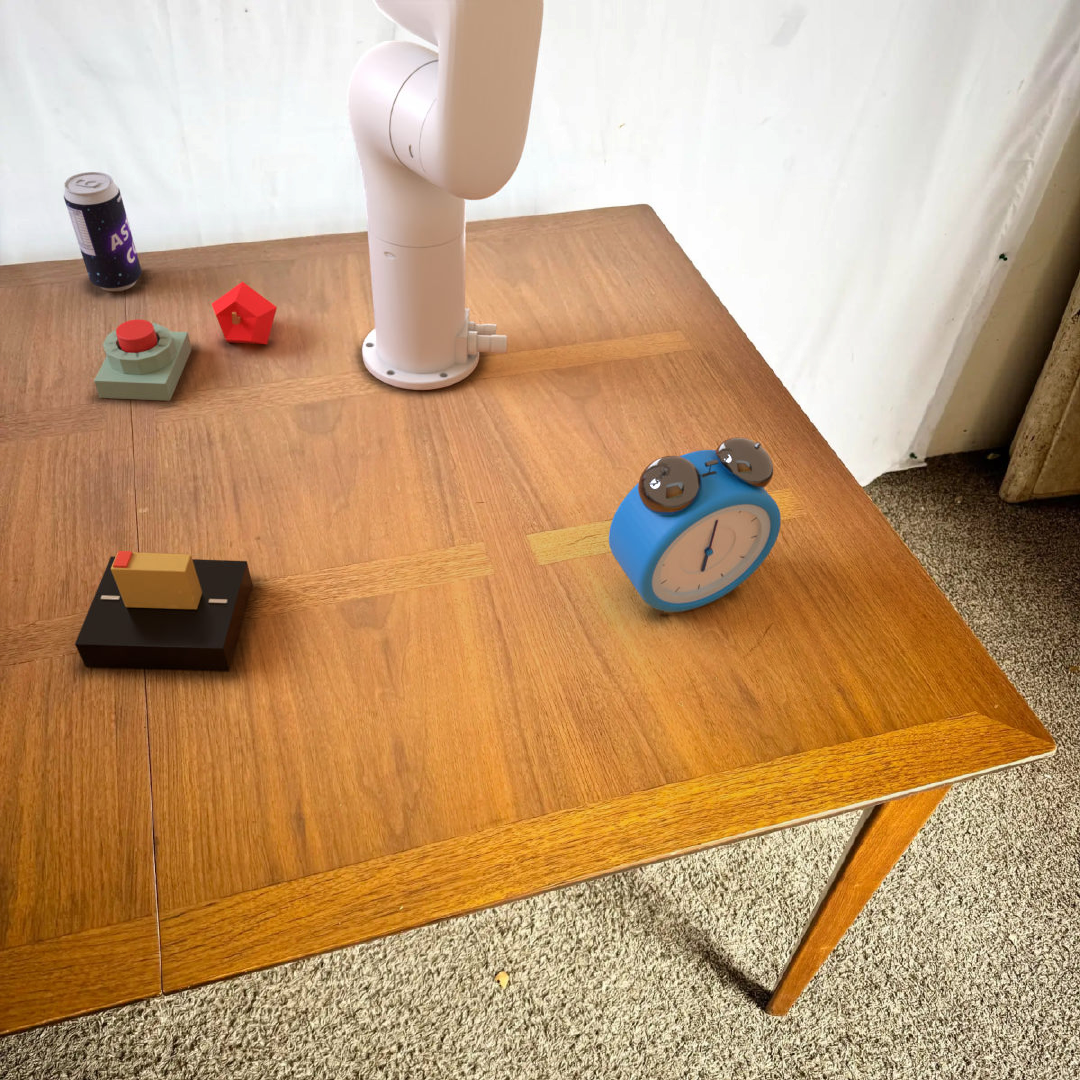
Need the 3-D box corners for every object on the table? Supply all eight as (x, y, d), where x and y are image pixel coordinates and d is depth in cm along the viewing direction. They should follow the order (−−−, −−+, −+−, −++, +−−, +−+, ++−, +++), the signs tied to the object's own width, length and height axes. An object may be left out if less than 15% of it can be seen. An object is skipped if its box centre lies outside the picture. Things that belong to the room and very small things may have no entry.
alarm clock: (631, 633, 80) (657, 504, 69) (597, 581, 83) (617, 450, 73) (762, 589, 84) (807, 460, 73) (725, 541, 88) (761, 412, 77)
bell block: (125, 346, 103) (116, 314, 100) (192, 349, 103) (184, 317, 100) (99, 398, 97) (88, 365, 94) (170, 401, 97) (161, 368, 94)
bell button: (126, 332, 98) (121, 318, 97) (161, 334, 99) (157, 319, 97) (115, 353, 96) (110, 338, 95) (152, 355, 96) (148, 340, 95)
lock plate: (253, 584, 81) (246, 559, 79) (229, 671, 75) (222, 647, 72) (120, 580, 80) (110, 554, 78) (85, 667, 74) (73, 642, 72)
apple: (225, 268, 105) (202, 281, 97) (287, 284, 106) (269, 299, 98) (217, 329, 108) (195, 346, 100) (278, 344, 108) (260, 363, 101)
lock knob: (202, 592, 76) (190, 551, 73) (197, 610, 75) (184, 569, 71) (132, 590, 76) (116, 549, 72) (125, 607, 75) (109, 566, 71)
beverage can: (128, 298, 109) (99, 198, 100) (82, 290, 110) (49, 190, 101) (152, 273, 113) (126, 174, 104) (107, 265, 114) (78, 166, 105)
